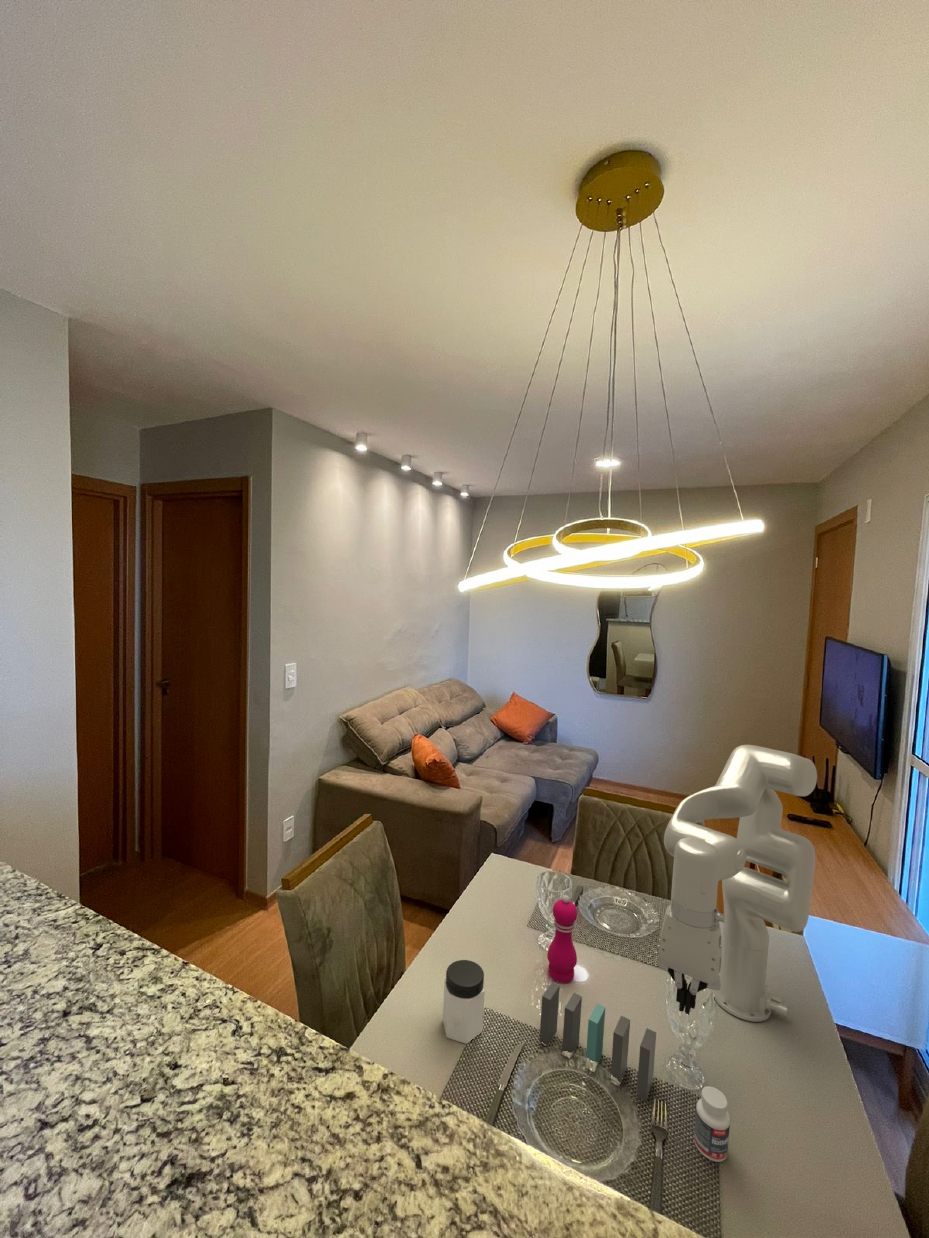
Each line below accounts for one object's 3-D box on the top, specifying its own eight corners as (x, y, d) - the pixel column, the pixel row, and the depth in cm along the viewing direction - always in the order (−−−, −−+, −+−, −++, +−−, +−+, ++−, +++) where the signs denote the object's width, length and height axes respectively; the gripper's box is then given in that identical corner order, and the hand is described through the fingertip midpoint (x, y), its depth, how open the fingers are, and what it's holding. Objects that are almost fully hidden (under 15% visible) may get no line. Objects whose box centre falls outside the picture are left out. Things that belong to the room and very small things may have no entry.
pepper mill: (575, 987, 124) (581, 906, 123) (545, 981, 125) (550, 901, 125) (575, 966, 131) (580, 889, 130) (546, 961, 132) (551, 885, 132)
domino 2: (578, 1042, 108) (582, 996, 108) (570, 1059, 104) (573, 1011, 104) (570, 1038, 109) (573, 992, 109) (561, 1054, 105) (564, 1007, 105)
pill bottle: (712, 1168, 85) (716, 1116, 85) (686, 1137, 90) (690, 1088, 90) (734, 1155, 87) (738, 1105, 87) (708, 1126, 92) (712, 1078, 92)
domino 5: (652, 1082, 100) (656, 1032, 100) (646, 1102, 96) (650, 1050, 96) (643, 1077, 101) (646, 1027, 101) (636, 1096, 97) (640, 1045, 97)
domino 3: (602, 1054, 106) (605, 1007, 105) (594, 1072, 102) (597, 1023, 101) (593, 1050, 107) (596, 1003, 106) (585, 1067, 103) (588, 1019, 102)
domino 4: (626, 1068, 103) (630, 1019, 103) (619, 1087, 99) (622, 1036, 98) (617, 1063, 104) (621, 1015, 104) (610, 1082, 100) (613, 1032, 99)
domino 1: (556, 1030, 111) (559, 985, 111) (547, 1046, 107) (550, 999, 107) (549, 1026, 112) (551, 981, 112) (539, 1042, 108) (542, 995, 108)
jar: (435, 1035, 108) (438, 979, 108) (448, 1006, 116) (451, 954, 115) (476, 1048, 105) (480, 991, 105) (487, 1018, 113) (490, 965, 113)
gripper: (741, 916, 93) (733, 1014, 94) (654, 886, 101) (648, 977, 102) (736, 937, 87) (728, 1043, 87) (645, 904, 95) (638, 1001, 96)
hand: (685, 1007), depth 95 cm, fingers closed
